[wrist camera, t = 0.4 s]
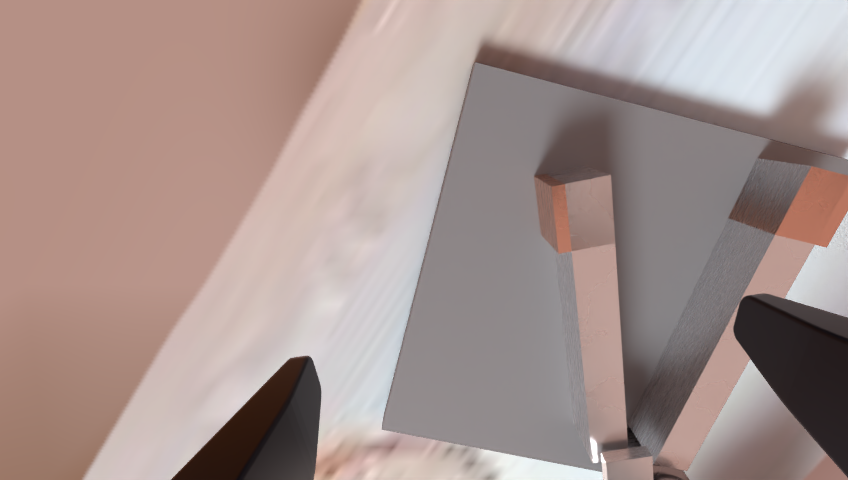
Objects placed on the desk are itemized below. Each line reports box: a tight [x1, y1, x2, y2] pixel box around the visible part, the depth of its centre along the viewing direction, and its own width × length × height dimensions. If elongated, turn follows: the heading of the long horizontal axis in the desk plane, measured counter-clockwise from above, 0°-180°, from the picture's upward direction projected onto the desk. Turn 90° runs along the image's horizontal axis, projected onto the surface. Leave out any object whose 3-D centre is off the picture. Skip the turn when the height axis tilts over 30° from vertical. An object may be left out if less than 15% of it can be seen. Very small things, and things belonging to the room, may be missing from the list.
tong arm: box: [534, 166, 683, 480], centre depth 22 cm, size 21×6×4 cm, turn 12°
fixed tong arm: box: [601, 158, 848, 480], centre depth 22 cm, size 21×4×3 cm, turn 167°
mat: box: [382, 62, 848, 472], centre depth 23 cm, size 22×20×1 cm
